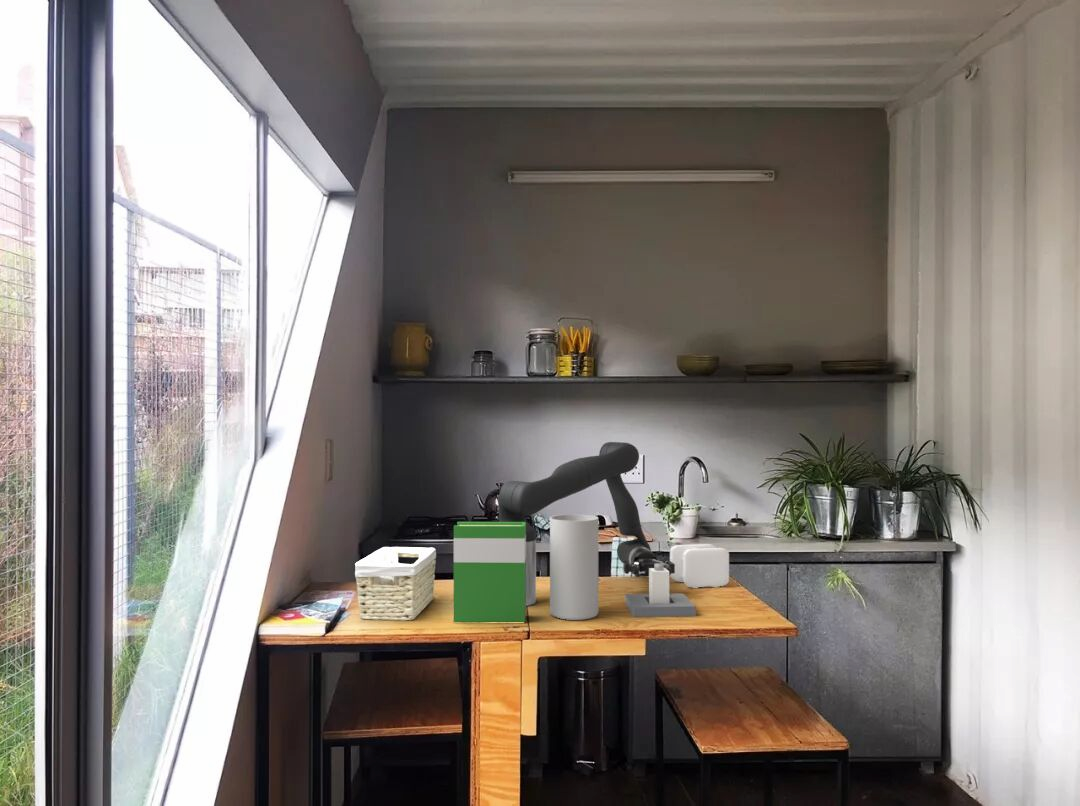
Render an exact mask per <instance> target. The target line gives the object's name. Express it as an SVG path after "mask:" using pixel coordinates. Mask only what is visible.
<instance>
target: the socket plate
mask: <svg viewBox="0 0 1080 806" xmlns="http://www.w3.org/2000/svg"><path fill="white" fill-rule="evenodd" d="M624 597H625V598H624V604H625V606H626V607H627V608H628V610H629V612H630V613H631V615H632V616H633V618H643V617H645V618H651V617H653V618H656V617H658V618H659V617H696V616H697V614H696V613H697V612H696V611H697V608H696V605H695V604H694V603H693V602H692V600H690V599H689V598H688V597H687V596H686V595H685V593H669V603H649V593H625V596H624Z"/></svg>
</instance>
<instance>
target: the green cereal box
mask: <svg viewBox="0 0 1080 806" xmlns="http://www.w3.org/2000/svg"><path fill="white" fill-rule="evenodd" d="M456 524H457V525H454V526H453V623H454V622H525V623H526V618H525V617H527V606H526V522H499V521H457V522H456Z"/></svg>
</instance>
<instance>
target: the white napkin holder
mask: <svg viewBox="0 0 1080 806" xmlns="http://www.w3.org/2000/svg"><path fill="white" fill-rule="evenodd" d="M669 561H671V562H672V563H674V564H675V573H671V574H670V576H669V578H671V580H673V581H675V582H679V583H680V582H684V583H683V584H684V585H685V586H687V587H690V588H691V587H692V588H696V589H699V588H698V587H703V588H705V587H711V588H713V587H714V588H717V587H716V586H722V587H723V586H725V585H727V584H728V583H729V582H730V552H729V551H728V550H727V549H726V548H723V547H716V546H715V545H713V544H710V543H699V544H697V543H695V544H692V543H691V544H676V545H672V547H670V549H669ZM692 588H691V589H692Z"/></svg>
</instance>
